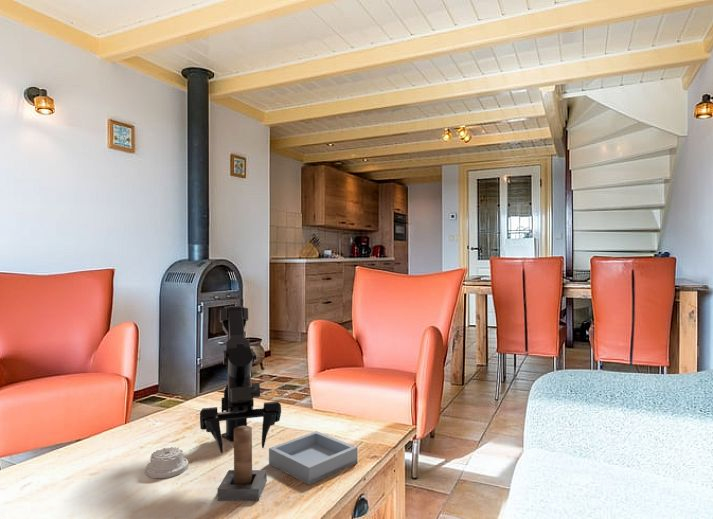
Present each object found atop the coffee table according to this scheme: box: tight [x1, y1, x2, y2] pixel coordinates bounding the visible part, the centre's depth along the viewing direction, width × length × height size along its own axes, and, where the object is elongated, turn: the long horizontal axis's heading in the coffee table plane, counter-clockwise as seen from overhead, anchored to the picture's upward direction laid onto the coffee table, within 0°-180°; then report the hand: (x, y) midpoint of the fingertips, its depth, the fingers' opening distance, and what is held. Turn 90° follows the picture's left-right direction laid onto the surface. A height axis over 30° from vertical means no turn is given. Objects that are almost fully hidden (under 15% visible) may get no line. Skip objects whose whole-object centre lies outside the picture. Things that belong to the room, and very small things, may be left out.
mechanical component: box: [144, 446, 189, 479], centre depth 119 cm, size 10×4×10 cm
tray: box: [268, 430, 358, 486], centre depth 122 cm, size 16×16×4 cm
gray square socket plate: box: [217, 469, 268, 501], centre depth 108 cm, size 9×9×2 cm
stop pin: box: [233, 425, 253, 485], centre depth 108 cm, size 4×4×14 cm
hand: (242, 449), depth 109 cm, fingers open, 9 cm apart
